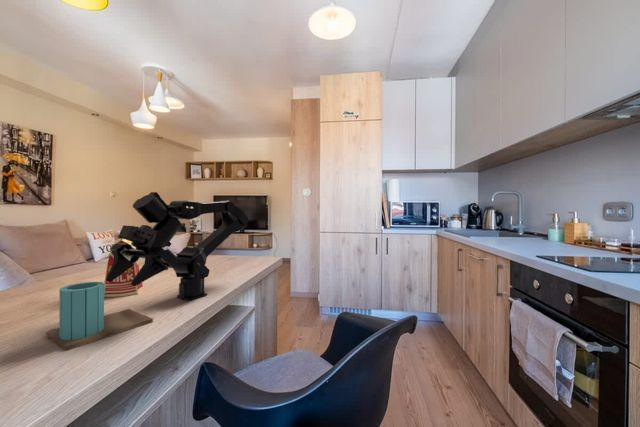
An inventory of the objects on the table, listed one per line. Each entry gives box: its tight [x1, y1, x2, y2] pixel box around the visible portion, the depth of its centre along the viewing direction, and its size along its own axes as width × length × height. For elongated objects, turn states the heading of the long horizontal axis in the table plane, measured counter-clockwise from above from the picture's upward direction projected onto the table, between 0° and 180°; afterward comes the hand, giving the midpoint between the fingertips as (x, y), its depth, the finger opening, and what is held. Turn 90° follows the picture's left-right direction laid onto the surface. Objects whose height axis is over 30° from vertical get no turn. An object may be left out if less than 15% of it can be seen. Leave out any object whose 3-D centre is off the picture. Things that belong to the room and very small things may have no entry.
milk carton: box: [103, 238, 144, 298], centre depth 88 cm, size 9×9×20 cm
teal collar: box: [58, 281, 105, 340], centre depth 58 cm, size 7×7×10 cm
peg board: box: [45, 308, 154, 351], centre depth 62 cm, size 16×12×5 cm
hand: (119, 283), depth 65 cm, fingers open, 9 cm apart
